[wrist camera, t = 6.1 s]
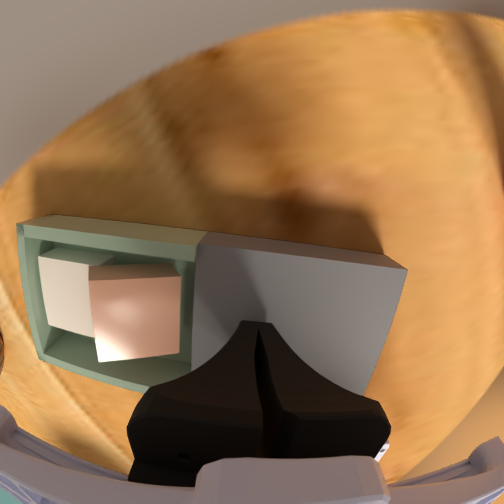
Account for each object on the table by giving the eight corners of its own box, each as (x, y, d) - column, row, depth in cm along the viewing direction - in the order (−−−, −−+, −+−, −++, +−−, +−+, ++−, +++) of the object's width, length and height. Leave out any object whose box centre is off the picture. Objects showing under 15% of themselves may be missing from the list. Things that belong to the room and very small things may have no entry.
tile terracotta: (168, 333, 14) (179, 352, 13) (96, 340, 12) (98, 361, 11) (170, 262, 13) (181, 276, 12) (88, 265, 11) (88, 280, 10)
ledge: (346, 379, 16) (358, 405, 13) (198, 367, 15) (191, 396, 13) (385, 254, 14) (407, 269, 11) (207, 231, 13) (197, 243, 11)
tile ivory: (48, 324, 12) (64, 311, 14) (105, 340, 13) (119, 324, 14) (37, 256, 11) (56, 247, 13) (98, 266, 12) (114, 255, 13)
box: (198, 367, 15) (189, 402, 12) (62, 335, 15) (38, 358, 12) (207, 231, 13) (195, 246, 10) (50, 214, 13) (16, 223, 10)
